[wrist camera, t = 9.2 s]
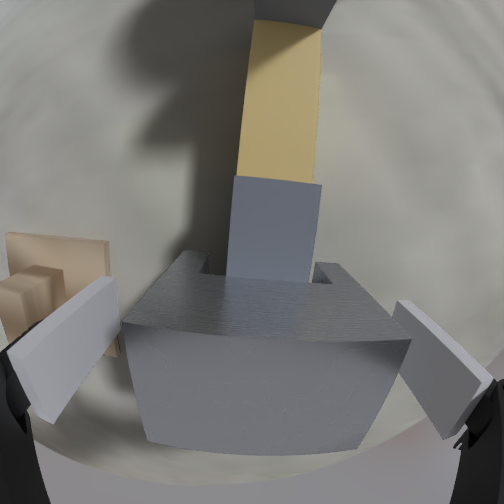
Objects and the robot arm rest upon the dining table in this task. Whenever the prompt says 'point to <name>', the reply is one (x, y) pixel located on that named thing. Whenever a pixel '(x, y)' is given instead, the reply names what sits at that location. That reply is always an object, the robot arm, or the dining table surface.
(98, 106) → the dining table surface
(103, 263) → the tan tabbed plate
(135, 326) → the grey block
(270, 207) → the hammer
